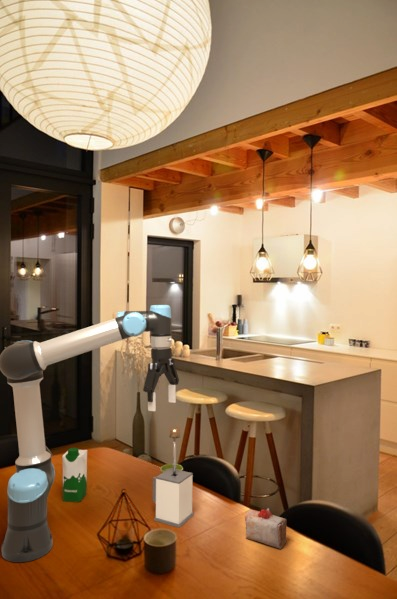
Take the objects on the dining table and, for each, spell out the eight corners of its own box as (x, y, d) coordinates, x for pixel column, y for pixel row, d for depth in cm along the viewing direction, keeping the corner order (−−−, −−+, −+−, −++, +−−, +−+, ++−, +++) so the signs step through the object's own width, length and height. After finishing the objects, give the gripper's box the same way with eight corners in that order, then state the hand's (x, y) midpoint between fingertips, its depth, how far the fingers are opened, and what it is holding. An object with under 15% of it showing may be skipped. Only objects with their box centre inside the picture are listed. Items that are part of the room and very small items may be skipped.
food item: (241, 539, 152) (241, 509, 152) (251, 529, 159) (252, 500, 159) (279, 552, 145) (280, 521, 145) (289, 540, 152) (289, 511, 152)
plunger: (177, 488, 162) (178, 432, 161) (161, 484, 165) (161, 429, 165) (187, 481, 168) (188, 427, 168) (171, 478, 171) (171, 424, 171)
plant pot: (180, 494, 186) (180, 473, 186) (157, 492, 188) (157, 471, 188) (184, 484, 195) (184, 464, 195) (163, 483, 197) (163, 463, 197)
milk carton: (59, 502, 178) (60, 450, 178) (68, 492, 187) (68, 443, 187) (81, 503, 177) (81, 451, 177) (89, 493, 186) (89, 444, 186)
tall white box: (179, 527, 159) (179, 482, 159) (145, 518, 166) (145, 475, 166) (193, 515, 169) (193, 472, 168) (161, 506, 175) (161, 465, 175)
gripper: (150, 352, 153) (151, 415, 153) (187, 344, 175) (188, 400, 175) (132, 351, 156) (133, 413, 156) (170, 343, 178) (171, 398, 178)
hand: (162, 406), depth 166 cm, fingers open, 13 cm apart
